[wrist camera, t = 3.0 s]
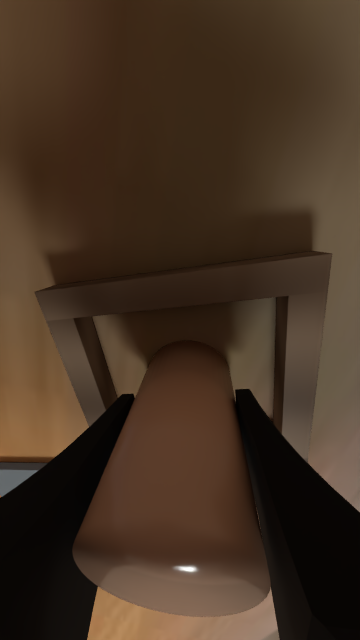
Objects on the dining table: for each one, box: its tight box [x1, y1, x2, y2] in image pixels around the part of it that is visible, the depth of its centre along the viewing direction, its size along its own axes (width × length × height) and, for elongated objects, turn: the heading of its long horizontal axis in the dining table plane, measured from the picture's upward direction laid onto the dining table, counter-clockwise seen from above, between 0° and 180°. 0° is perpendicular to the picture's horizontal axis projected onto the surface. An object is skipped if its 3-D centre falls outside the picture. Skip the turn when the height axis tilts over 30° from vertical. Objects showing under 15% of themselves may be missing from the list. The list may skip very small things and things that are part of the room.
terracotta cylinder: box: [72, 341, 271, 617], centre depth 9 cm, size 5×5×8 cm
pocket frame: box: [35, 251, 332, 462], centre depth 12 cm, size 13×13×2 cm
